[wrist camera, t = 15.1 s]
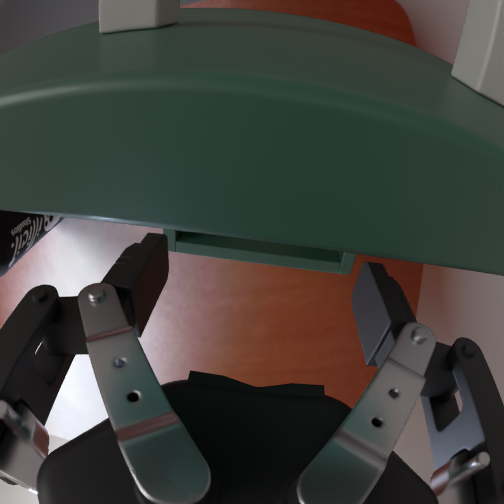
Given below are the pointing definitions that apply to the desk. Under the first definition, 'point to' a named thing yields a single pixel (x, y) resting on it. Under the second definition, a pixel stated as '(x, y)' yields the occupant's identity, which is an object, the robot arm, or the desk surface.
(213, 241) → the chest
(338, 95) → the lid
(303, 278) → the desk surface
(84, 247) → the desk surface
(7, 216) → the beverage can
